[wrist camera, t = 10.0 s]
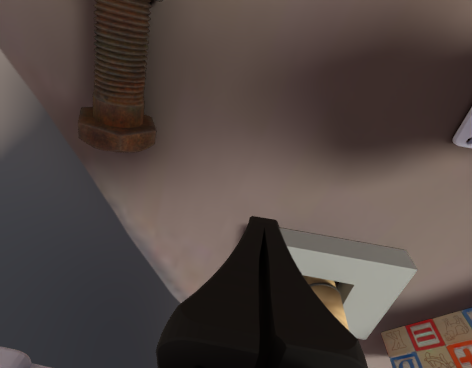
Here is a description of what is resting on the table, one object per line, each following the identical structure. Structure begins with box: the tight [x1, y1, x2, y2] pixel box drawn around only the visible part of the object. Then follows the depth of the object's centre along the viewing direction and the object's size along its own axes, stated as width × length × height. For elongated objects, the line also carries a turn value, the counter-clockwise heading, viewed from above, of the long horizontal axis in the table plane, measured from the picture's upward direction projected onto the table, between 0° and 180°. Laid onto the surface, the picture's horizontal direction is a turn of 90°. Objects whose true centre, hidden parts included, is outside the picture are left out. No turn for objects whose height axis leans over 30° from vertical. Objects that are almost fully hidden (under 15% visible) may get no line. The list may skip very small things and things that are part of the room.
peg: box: [303, 275, 349, 330], centre depth 26 cm, size 4×4×6 cm
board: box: [280, 228, 417, 340], centre depth 28 cm, size 14×12×2 cm
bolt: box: [78, 0, 163, 152], centre depth 16 cm, size 6×5×15 cm
